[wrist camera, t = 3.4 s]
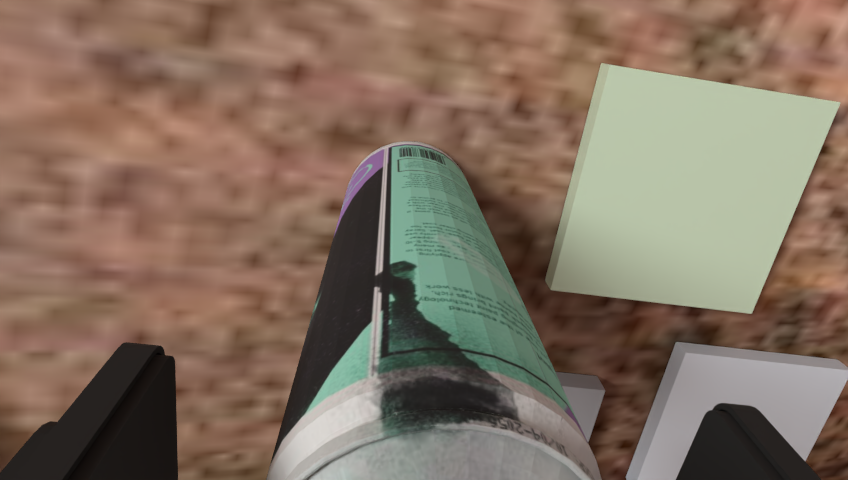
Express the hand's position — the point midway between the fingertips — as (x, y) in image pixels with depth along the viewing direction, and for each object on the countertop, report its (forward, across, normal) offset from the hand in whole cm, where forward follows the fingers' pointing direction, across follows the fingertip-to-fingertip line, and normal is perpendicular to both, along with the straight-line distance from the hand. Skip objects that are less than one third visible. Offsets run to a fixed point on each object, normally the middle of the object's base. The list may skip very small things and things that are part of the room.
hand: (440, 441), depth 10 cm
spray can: (+16, 0, +1) cm, 16 cm away
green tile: (+16, -12, -1) cm, 20 cm away
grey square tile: (+15, -19, +11) cm, 27 cm away
